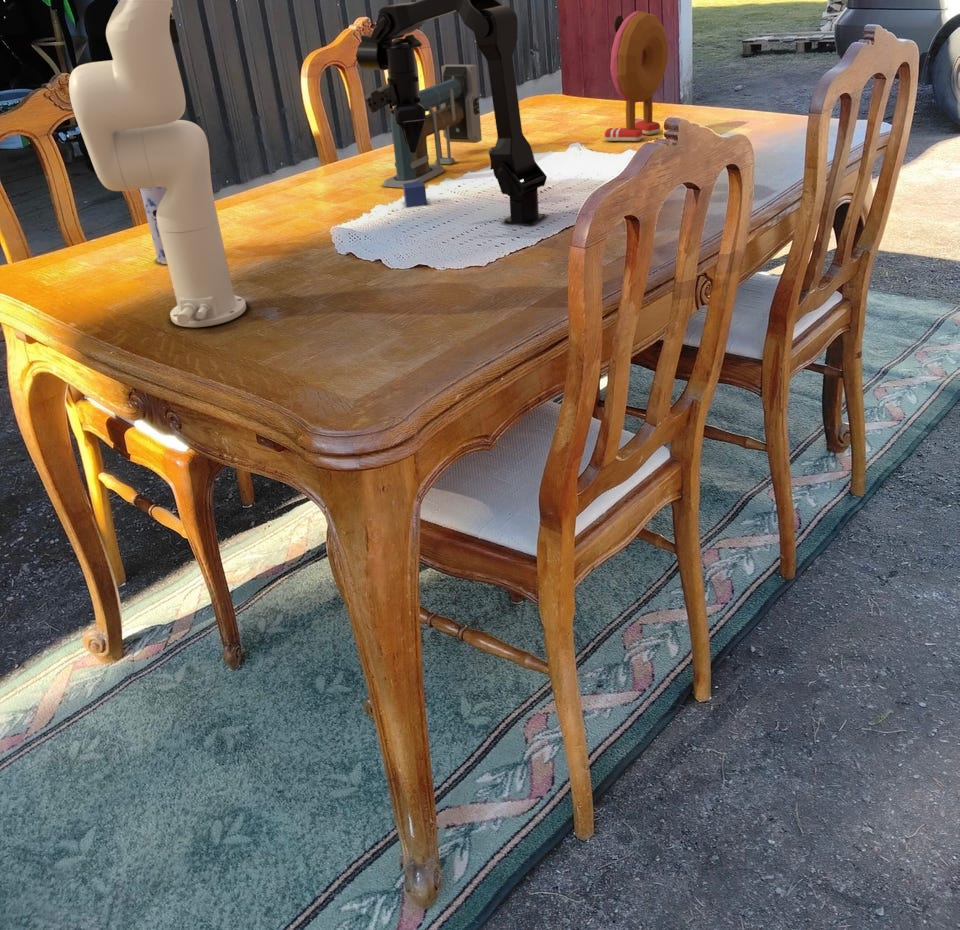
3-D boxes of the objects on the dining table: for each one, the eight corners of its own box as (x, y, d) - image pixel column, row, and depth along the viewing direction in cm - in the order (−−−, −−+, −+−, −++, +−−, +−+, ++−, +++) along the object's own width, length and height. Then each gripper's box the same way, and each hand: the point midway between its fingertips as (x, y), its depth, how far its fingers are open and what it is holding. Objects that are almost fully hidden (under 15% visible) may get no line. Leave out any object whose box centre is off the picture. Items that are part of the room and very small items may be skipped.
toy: (639, 125, 264) (640, 5, 249) (672, 128, 258) (675, 5, 243) (595, 143, 250) (594, 16, 235) (629, 146, 245) (630, 16, 229)
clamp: (411, 188, 225) (400, 91, 214) (380, 186, 229) (368, 91, 218) (482, 152, 251) (476, 64, 240) (453, 150, 255) (446, 64, 244)
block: (424, 199, 217) (422, 181, 214) (427, 204, 213) (425, 185, 211) (404, 202, 216) (402, 183, 214) (406, 207, 212) (404, 188, 210)
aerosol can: (156, 266, 189) (130, 162, 179) (157, 254, 195) (131, 153, 185) (197, 260, 190) (173, 156, 180) (196, 248, 197) (173, 148, 187)
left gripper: (128, -61, 172) (152, 43, 181) (113, -58, 157) (140, 55, 166) (171, -65, 173) (193, 39, 181) (160, -62, 158) (184, 50, 167)
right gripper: (360, 68, 208) (370, 143, 216) (366, 82, 192) (376, 162, 200) (412, 63, 209) (419, 137, 217) (422, 76, 193) (429, 155, 201)
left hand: (167, 46), depth 174 cm, fingers open, 9 cm apart
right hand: (410, 148), depth 208 cm, fingers open, 9 cm apart
